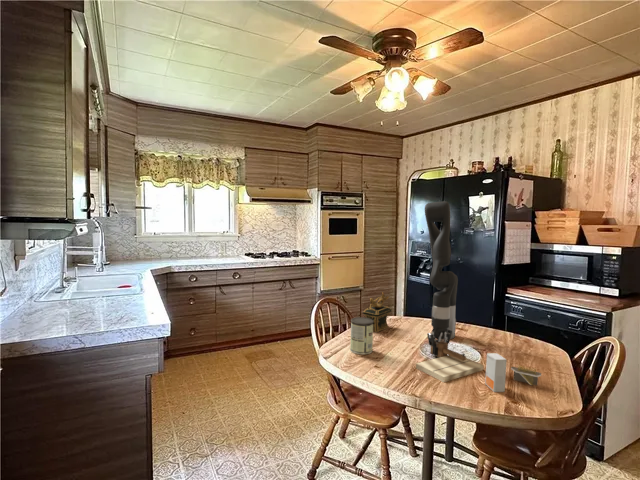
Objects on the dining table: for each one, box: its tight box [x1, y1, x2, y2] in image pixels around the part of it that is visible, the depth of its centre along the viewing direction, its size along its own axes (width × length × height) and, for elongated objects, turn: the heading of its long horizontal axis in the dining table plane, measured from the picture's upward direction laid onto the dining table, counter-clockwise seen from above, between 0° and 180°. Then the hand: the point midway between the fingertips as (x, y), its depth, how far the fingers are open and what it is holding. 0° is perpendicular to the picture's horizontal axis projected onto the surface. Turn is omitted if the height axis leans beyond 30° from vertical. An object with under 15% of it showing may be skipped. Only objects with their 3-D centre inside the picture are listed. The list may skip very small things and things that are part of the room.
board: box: [415, 354, 485, 383], centre depth 145 cm, size 24×14×2 cm, turn 121°
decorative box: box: [362, 291, 393, 333], centre depth 197 cm, size 20×10×20 cm, turn 141°
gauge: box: [429, 338, 467, 361], centre depth 153 cm, size 4×17×6 cm, turn 31°
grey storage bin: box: [510, 364, 542, 386], centre depth 134 cm, size 12×18×7 cm, turn 57°
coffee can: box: [349, 316, 374, 355], centre depth 162 cm, size 10×10×14 cm
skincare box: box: [484, 352, 507, 393], centre depth 129 cm, size 6×4×12 cm
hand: (438, 353), depth 157 cm, fingers closed on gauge, 4 cm apart
